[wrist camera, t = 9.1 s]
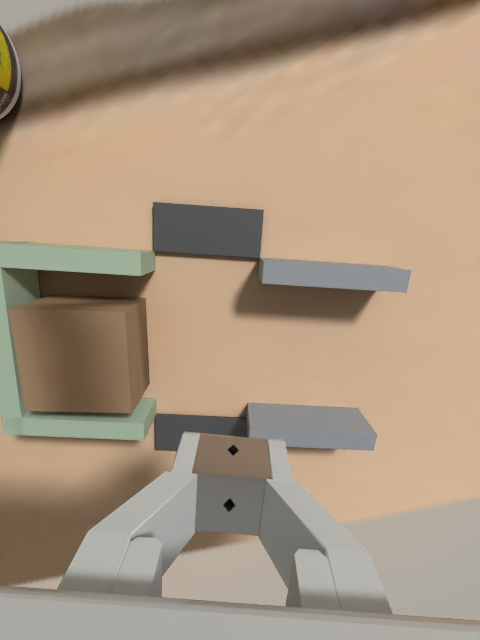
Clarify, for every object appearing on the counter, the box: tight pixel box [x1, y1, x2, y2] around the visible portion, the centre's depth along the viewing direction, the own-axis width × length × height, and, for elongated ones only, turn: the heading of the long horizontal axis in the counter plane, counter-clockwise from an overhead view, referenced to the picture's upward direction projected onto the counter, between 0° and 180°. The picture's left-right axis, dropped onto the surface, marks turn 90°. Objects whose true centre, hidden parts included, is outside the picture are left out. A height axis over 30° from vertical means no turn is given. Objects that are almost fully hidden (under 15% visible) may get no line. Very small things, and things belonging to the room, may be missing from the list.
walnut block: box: [8, 295, 150, 413], centre depth 18 cm, size 6×6×4 cm
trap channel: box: [0, 202, 411, 451], centre depth 19 cm, size 23×17×3 cm
